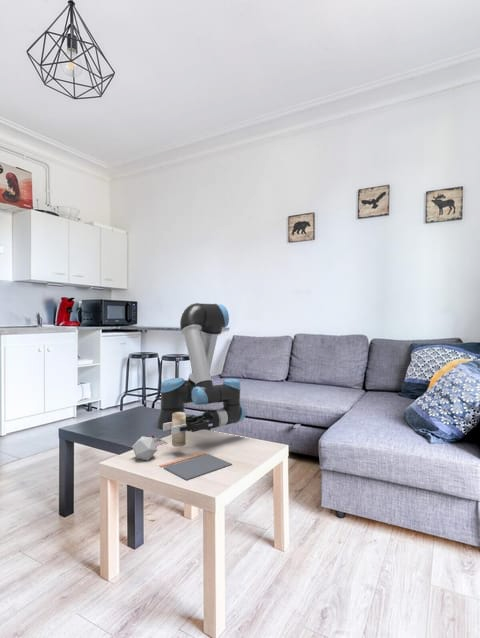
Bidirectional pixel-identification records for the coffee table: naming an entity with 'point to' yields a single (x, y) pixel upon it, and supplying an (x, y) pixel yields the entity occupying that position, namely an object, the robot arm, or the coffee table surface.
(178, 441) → the beige banded cylinder
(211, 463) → the mat
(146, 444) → the die
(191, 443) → the coffee table surface
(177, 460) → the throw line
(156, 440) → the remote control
